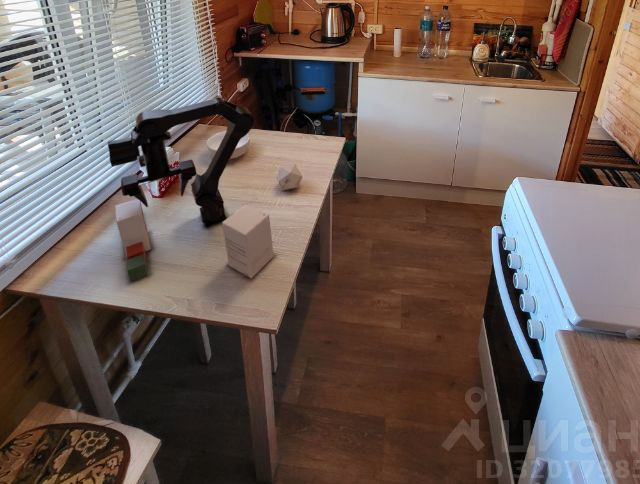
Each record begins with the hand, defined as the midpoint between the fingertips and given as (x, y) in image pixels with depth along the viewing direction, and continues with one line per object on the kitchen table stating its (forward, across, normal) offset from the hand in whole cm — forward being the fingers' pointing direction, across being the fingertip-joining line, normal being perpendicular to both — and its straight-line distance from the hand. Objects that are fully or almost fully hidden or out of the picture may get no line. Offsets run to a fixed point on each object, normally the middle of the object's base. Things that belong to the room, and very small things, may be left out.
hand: (164, 200), depth 111 cm
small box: (+12, +9, 0) cm, 15 cm away
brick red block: (+12, +10, +6) cm, 17 cm away
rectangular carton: (+12, -18, +23) cm, 31 cm away
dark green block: (+12, +10, +12) cm, 19 cm away
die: (+12, -40, -3) cm, 41 cm away
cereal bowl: (+12, -27, -36) cm, 46 cm away
